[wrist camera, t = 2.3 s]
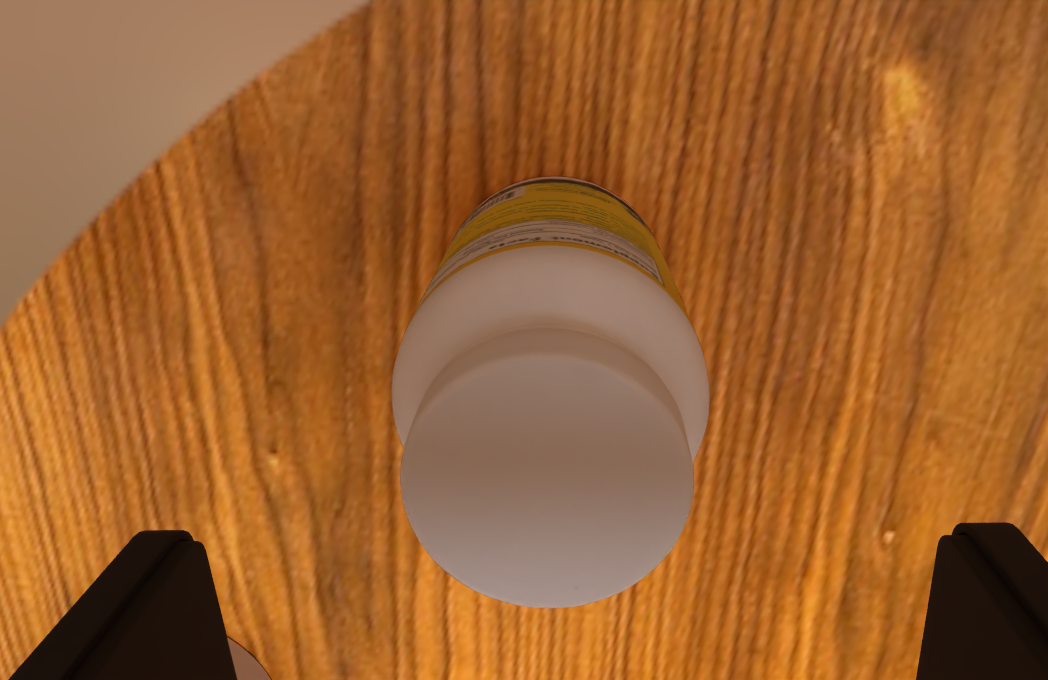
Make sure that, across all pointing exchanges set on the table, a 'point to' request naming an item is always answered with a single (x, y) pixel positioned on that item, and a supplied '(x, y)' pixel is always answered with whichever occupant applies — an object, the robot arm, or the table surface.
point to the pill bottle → (550, 399)
